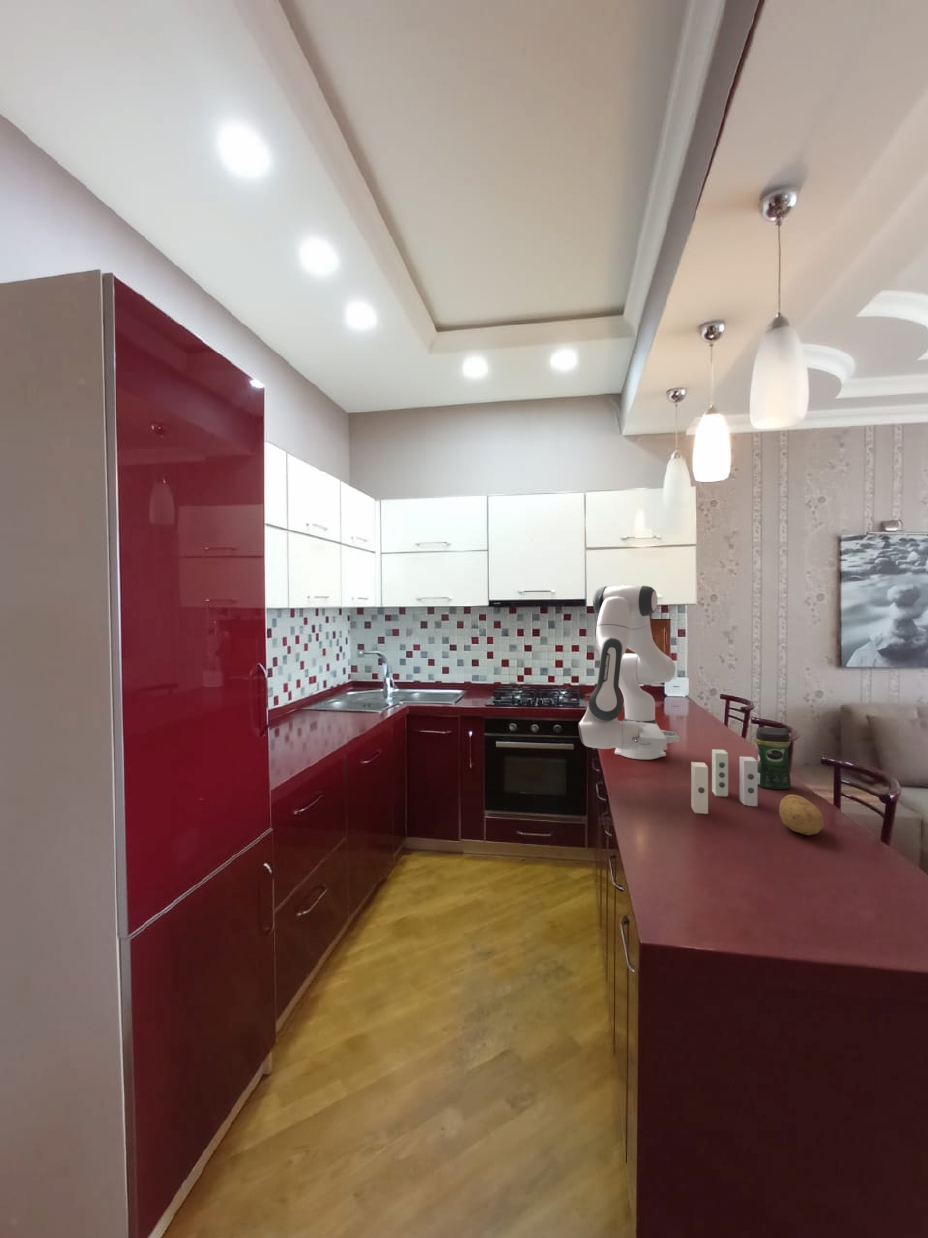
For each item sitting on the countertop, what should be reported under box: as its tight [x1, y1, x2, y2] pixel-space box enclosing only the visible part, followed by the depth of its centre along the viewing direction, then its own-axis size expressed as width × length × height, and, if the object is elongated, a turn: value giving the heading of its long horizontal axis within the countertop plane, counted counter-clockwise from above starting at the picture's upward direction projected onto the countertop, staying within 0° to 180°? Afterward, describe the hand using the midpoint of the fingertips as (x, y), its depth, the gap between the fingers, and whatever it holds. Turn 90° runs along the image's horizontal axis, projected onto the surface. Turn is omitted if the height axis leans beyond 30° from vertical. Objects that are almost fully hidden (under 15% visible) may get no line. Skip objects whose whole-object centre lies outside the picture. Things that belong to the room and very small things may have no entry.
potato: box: [778, 794, 825, 837], centre depth 138 cm, size 10×14×8 cm
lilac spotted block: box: [739, 756, 758, 807], centre depth 158 cm, size 5×4×13 cm
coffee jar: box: [755, 726, 792, 790], centre depth 172 cm, size 10×8×19 cm
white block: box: [711, 749, 729, 797], centre depth 166 cm, size 5×4×13 cm
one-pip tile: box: [690, 761, 709, 815], centre depth 153 cm, size 5×4×13 cm
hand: (677, 737), depth 169 cm, fingers open, 3 cm apart
